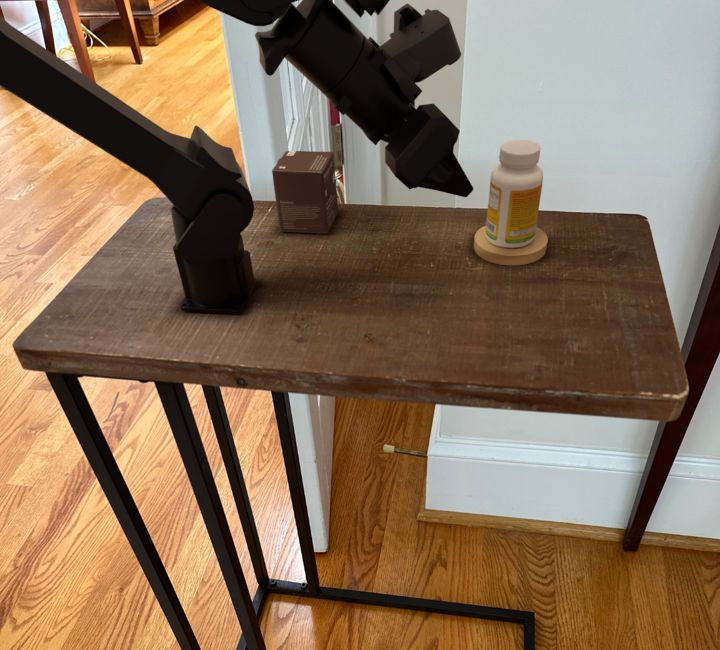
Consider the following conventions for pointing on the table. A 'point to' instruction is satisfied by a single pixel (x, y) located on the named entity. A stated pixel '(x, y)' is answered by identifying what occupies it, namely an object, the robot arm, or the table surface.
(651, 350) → the table surface
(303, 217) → the box
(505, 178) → the supplement bottle
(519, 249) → the coaster
